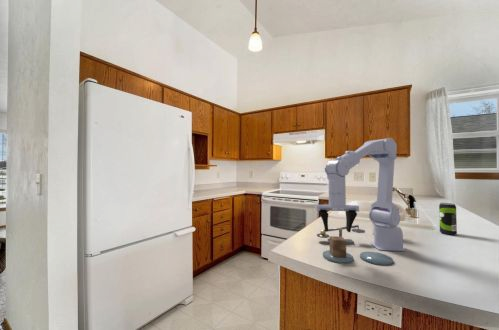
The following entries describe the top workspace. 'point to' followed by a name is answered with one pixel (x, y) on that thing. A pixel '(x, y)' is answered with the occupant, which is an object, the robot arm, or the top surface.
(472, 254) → the top surface
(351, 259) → the dish
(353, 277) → the top surface
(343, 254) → the walnut block
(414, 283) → the top surface
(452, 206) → the beverage can
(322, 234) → the balance
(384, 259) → the dish
